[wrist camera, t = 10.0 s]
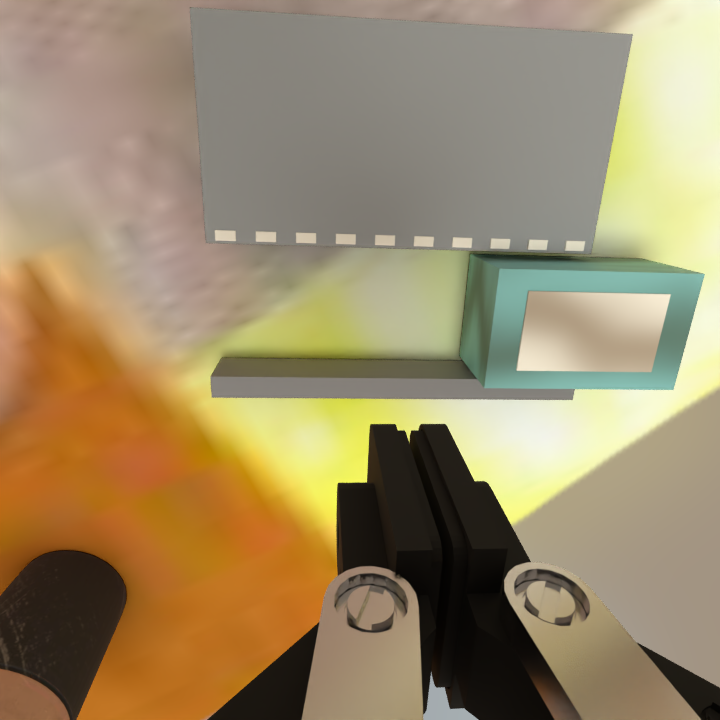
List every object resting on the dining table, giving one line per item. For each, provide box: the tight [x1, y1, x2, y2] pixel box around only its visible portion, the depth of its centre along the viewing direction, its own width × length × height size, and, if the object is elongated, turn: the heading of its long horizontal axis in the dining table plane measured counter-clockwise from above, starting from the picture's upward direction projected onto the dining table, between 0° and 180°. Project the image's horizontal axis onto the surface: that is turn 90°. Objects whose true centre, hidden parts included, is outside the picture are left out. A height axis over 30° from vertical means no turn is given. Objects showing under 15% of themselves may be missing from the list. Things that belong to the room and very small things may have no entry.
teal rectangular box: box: [459, 254, 705, 390], centre depth 27 cm, size 6×10×5 cm, turn 88°
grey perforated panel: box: [190, 7, 633, 400], centre depth 26 cm, size 18×20×3 cm
